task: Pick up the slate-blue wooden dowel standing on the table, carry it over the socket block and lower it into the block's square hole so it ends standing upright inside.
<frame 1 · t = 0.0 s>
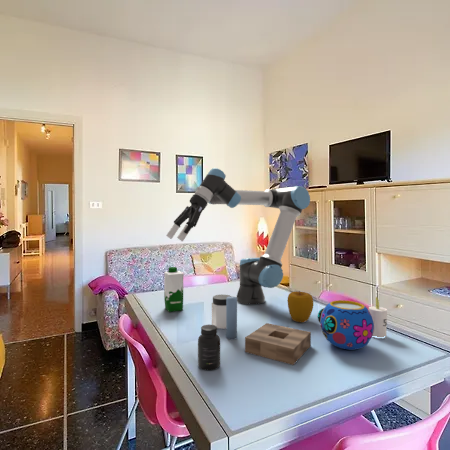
hand: (174, 238, 135), 36 cm above the table, tool tilted 35°, fingers open, 13 cm apart
socket block: (278, 349, 110), on the table
supplement bottle: (209, 366, 98), on the table
apple: (299, 320, 140), on the table
milk carton: (173, 309, 156), on the table
dowel: (231, 337, 120), on the table
jar: (222, 325, 133), on the table
candle: (377, 336, 123), on the table
ceramic pot: (345, 347, 113), on the table
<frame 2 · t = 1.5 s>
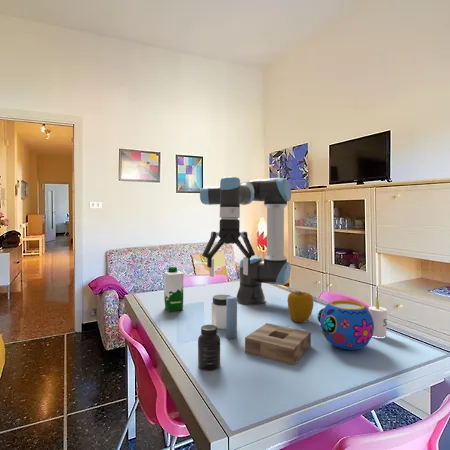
hand: (228, 275, 120), 23 cm above the table, tool pointing down, fingers open, 13 cm apart
nothing on the table moved.
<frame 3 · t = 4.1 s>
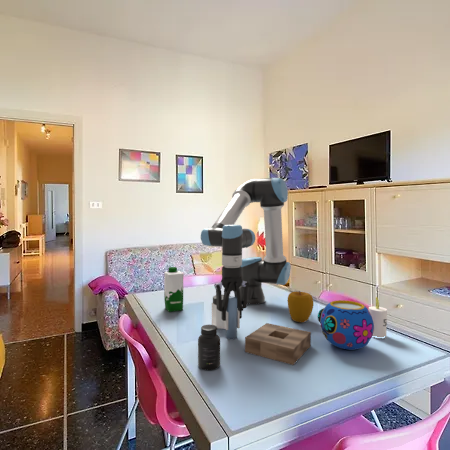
hand: (231, 327, 120), 4 cm above the table, tool pointing down, fingers closed on dowel, 4 cm apart
dowel: (231, 337, 120), on the table, touching gripper
everything else where it was.
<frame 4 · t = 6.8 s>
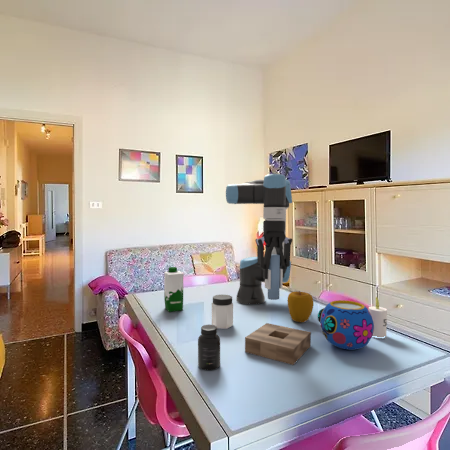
hand: (273, 287, 110), 21 cm above the table, tool pointing down, fingers closed on dowel, 4 cm apart
dowel: (273, 298, 110), point 17 cm above the table, touching gripper
everything else where it was.
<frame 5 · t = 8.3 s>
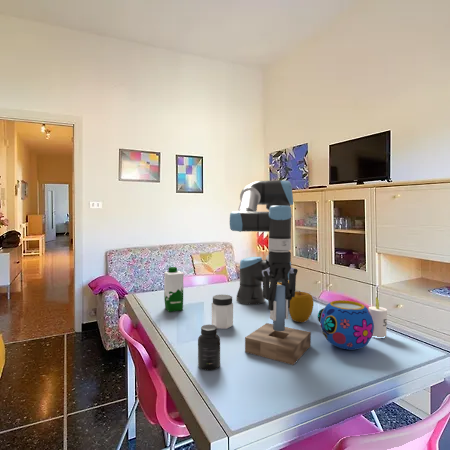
hand: (278, 318, 110), 11 cm above the table, tool pointing down, fingers closed on dowel, 4 cm apart
dowel: (278, 329, 110), point 7 cm above the table, touching gripper
everything else where it was.
when the fingers open (7 cm above the table, at t = 9.4 s): dowel drops 3 cm, resting in socket block.
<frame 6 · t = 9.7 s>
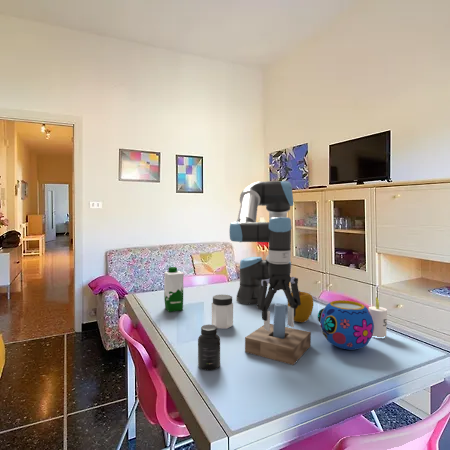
hand: (278, 327, 110), 7 cm above the table, tool pointing down, fingers open, 9 cm apart
dowel: (278, 348, 110), resting in socket block
everything else where it was.
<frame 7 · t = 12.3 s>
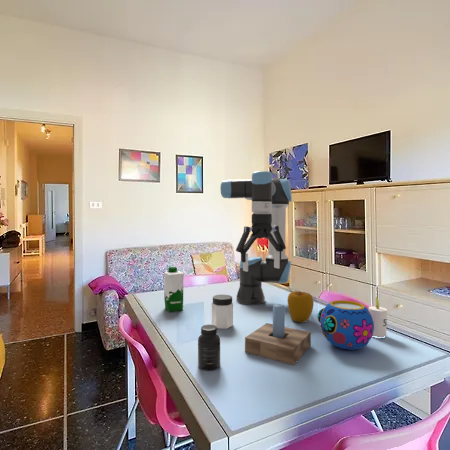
hand: (261, 269, 121), 25 cm above the table, tool pointing down, fingers open, 13 cm apart
nothing on the table moved.
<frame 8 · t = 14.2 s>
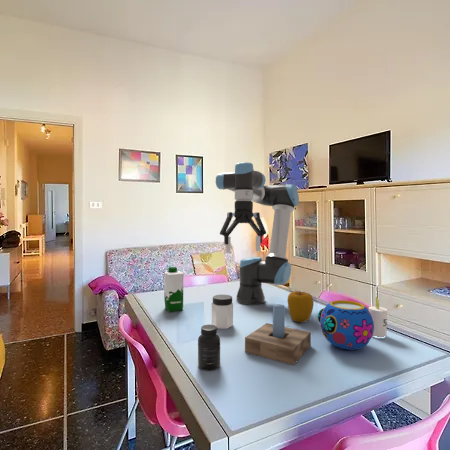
hand: (243, 251, 133), 31 cm above the table, tool pointing down, fingers open, 13 cm apart
nothing on the table moved.
at the end: dowel 0.1 cm off-centre on the socket block, point 0.0 cm above the socket block's base; dowel tilted 0°; the gripper is holding nothing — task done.
